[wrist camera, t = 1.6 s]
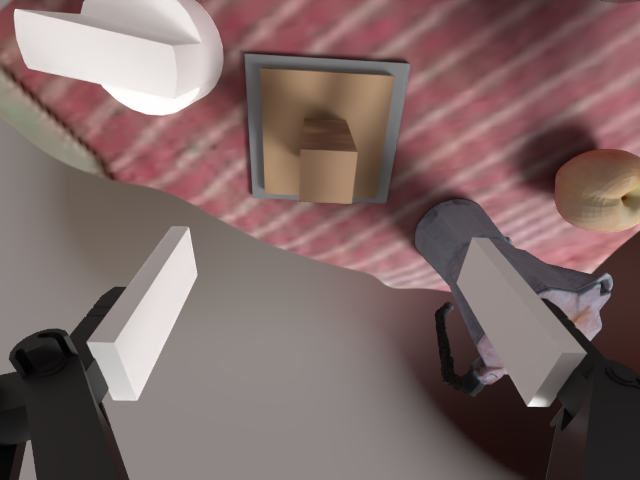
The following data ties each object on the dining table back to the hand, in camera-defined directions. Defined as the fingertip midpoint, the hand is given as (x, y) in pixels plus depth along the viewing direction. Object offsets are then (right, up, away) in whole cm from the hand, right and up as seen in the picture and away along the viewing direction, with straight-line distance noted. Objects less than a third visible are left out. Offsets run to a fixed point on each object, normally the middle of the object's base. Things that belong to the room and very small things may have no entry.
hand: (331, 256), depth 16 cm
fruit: (+28, +8, +21) cm, 36 cm away
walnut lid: (0, +11, +18) cm, 21 cm away
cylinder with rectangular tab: (-14, +18, +14) cm, 27 cm away
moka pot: (+15, +2, +25) cm, 29 cm away
